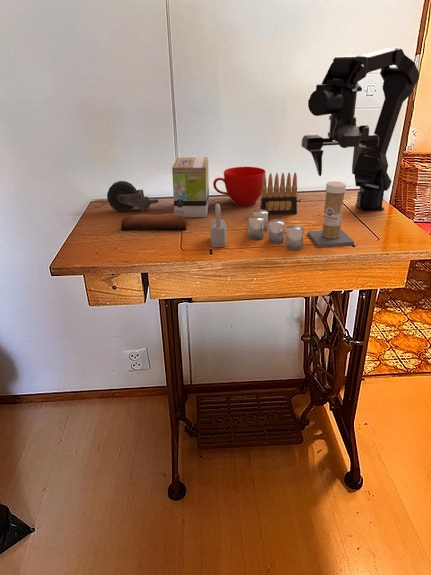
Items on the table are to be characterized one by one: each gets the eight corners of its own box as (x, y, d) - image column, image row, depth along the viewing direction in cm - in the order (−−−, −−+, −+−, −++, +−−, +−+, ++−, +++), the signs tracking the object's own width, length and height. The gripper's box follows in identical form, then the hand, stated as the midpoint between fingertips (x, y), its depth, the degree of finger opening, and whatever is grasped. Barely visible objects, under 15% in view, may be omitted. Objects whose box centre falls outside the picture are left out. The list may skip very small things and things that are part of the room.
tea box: (208, 217, 131) (206, 166, 124) (173, 218, 131) (170, 167, 124) (209, 202, 144) (208, 155, 137) (178, 203, 144) (175, 156, 138)
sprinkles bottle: (319, 238, 112) (324, 184, 105) (323, 232, 115) (328, 180, 109) (338, 240, 110) (344, 186, 104) (341, 234, 114) (347, 181, 107)
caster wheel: (110, 217, 137) (158, 210, 136) (102, 186, 132) (152, 179, 132) (113, 211, 142) (160, 205, 141) (106, 181, 137) (154, 174, 137)
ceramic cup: (207, 201, 145) (205, 170, 141) (254, 195, 150) (254, 165, 146) (221, 212, 134) (221, 179, 130) (272, 205, 140) (273, 173, 135)
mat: (341, 232, 117) (341, 229, 117) (353, 244, 109) (354, 241, 109) (307, 234, 116) (307, 231, 116) (318, 247, 108) (318, 244, 108)
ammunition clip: (295, 211, 133) (298, 171, 128) (296, 213, 132) (299, 172, 126) (259, 212, 133) (260, 172, 128) (260, 214, 132) (261, 174, 126)
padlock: (210, 237, 116) (209, 200, 112) (225, 237, 116) (225, 199, 112) (211, 247, 110) (209, 208, 106) (227, 247, 110) (226, 208, 106)
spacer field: (286, 225, 123) (287, 207, 120) (304, 250, 107) (305, 230, 105) (244, 228, 122) (244, 210, 120) (255, 253, 106) (256, 233, 104)
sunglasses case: (189, 220, 129) (186, 204, 123) (187, 239, 125) (185, 224, 120) (127, 221, 130) (122, 205, 124) (124, 240, 126) (119, 224, 121)
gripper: (316, 117, 104) (311, 184, 111) (393, 114, 105) (383, 180, 112) (302, 112, 113) (299, 174, 121) (373, 109, 115) (366, 170, 122)
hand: (336, 174), depth 119 cm, fingers open, 9 cm apart
